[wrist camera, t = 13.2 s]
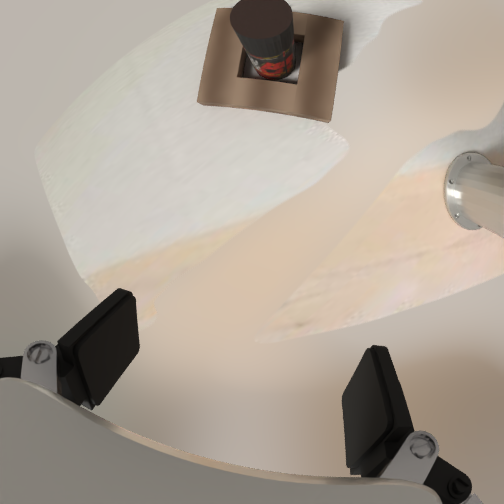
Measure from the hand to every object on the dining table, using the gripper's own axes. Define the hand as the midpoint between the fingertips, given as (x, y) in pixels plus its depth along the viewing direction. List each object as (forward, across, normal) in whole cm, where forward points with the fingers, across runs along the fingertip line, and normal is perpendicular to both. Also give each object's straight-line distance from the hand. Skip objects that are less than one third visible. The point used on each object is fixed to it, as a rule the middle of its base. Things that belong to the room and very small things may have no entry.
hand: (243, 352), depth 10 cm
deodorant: (+32, +5, -21) cm, 38 cm away
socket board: (+31, +5, -21) cm, 38 cm away
